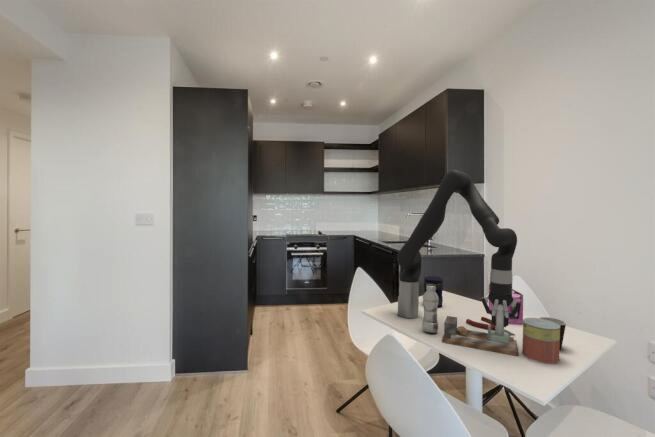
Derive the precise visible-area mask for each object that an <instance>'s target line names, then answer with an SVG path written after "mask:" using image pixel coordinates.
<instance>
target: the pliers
mask: <svg viewBox="0 0 655 437" xmlns="http://www.w3.org/2000/svg"><path fill="white" fill-rule="evenodd" d="M480 321H481V322H479V321H474V320H472V319H470V318H469V319H468V318H467V319H465V323H466V324H467V325H469V326H471V327H474V328H478V329H483V330H486V331H488V325H491V330H494V331H495V326H494V325H493V324H492V323H491V318H487V317H485V316H481V317H480ZM482 322H483V323H482ZM504 332H507V333H508V336H510V337H511V336H516V334H514V333H513V332H511V331H508V330H507V329H505V328H504Z"/></svg>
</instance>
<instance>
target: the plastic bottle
mask: <svg viewBox="0 0 655 437" xmlns="http://www.w3.org/2000/svg"><path fill="white" fill-rule="evenodd" d="M435 288H436V286H435V285H432V284H427V287H426V289H427V291H426V292H425V293H423V295H422V303H423V317H422V319H423V320H422V325H421V326H422V327H421V328H422V330H423V331H424V332H426V333H429V334H435V333H438V331H439V322H438V308H437V307H438V301H439V298H438V295H437V293H436V292H435V290H436V289H435Z"/></svg>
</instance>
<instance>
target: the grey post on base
mask: <svg viewBox="0 0 655 437" xmlns="http://www.w3.org/2000/svg"><path fill="white" fill-rule="evenodd" d="M505 309H506V308H505ZM504 314H505V312H504V306H503V305H501V304H499V305H497V310H496V322H495V331H494V330H491V325H490V324H488V330H487V333H488V341H494V342H500V343H506V344H509V336H508V333H507V332H504V329H505V327H504Z"/></svg>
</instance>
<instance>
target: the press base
mask: <svg viewBox="0 0 655 437" xmlns="http://www.w3.org/2000/svg"><path fill="white" fill-rule="evenodd" d="M443 322H444V323H443V325H444V327H443V328H444V330H443V335H442V338H441V343H442V344H443V343H445V344H450V345H454V346H460V347H466V348H472V349H477V350H481V351H487V352H493V353H498V354H504V355H510V356H515V357H519V348H518V342H517V340H516V339H515V338H514V336H511V335H510V336H509V344H506V343H500V342H494V341H488V332H484V331H479V330H471V329H467V328H466V327H465V326H463V325H460V326H458V317H457V316H450V315H446V318H445V320H444V321H443Z"/></svg>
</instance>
